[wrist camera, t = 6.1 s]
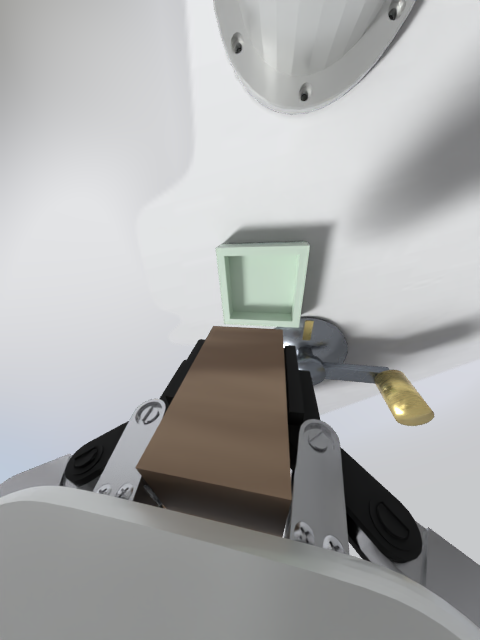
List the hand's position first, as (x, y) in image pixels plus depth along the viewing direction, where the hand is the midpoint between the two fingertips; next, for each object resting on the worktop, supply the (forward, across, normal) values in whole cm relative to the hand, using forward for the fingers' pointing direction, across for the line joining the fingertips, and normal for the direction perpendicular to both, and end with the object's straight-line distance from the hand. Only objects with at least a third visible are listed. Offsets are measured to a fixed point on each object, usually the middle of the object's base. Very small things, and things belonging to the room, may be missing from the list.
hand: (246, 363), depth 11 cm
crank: (+10, -10, +10) cm, 18 cm away
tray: (+13, 0, 0) cm, 13 cm away
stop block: (+1, 0, 0) cm, 1 cm away
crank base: (+13, -6, +10) cm, 18 cm away
